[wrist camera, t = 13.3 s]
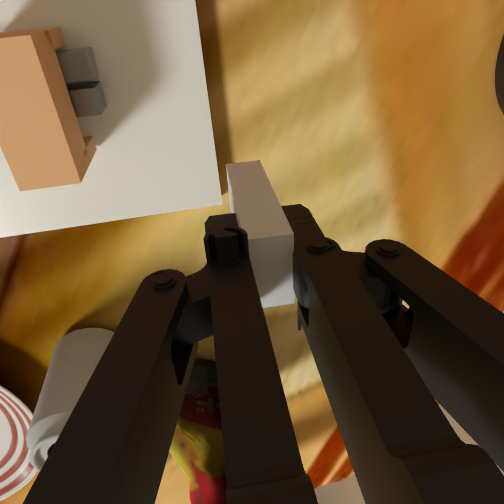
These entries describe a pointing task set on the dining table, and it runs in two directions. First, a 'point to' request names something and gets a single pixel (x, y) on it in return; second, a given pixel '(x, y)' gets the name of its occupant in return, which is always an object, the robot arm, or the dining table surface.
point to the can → (64, 388)
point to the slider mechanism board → (123, 113)
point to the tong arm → (87, 98)
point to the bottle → (201, 436)
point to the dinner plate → (14, 444)
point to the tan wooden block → (39, 113)
